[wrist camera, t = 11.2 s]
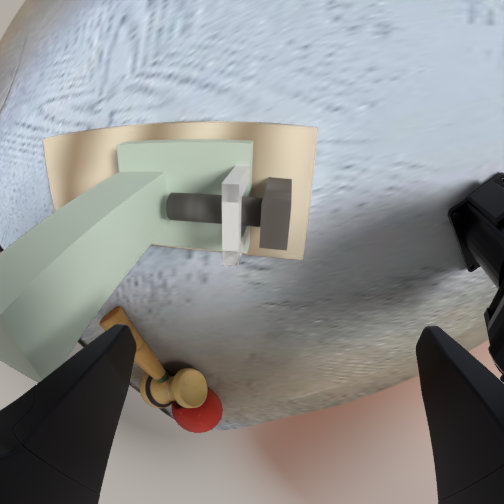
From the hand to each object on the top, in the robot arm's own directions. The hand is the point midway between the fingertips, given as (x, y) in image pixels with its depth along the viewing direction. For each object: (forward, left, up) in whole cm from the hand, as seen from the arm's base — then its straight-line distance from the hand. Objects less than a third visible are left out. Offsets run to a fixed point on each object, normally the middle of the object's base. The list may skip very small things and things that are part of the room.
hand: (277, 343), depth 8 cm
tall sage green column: (+4, +5, -12) cm, 13 cm away
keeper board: (+6, +6, -13) cm, 15 cm away
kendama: (-8, +22, -13) cm, 27 cm away
